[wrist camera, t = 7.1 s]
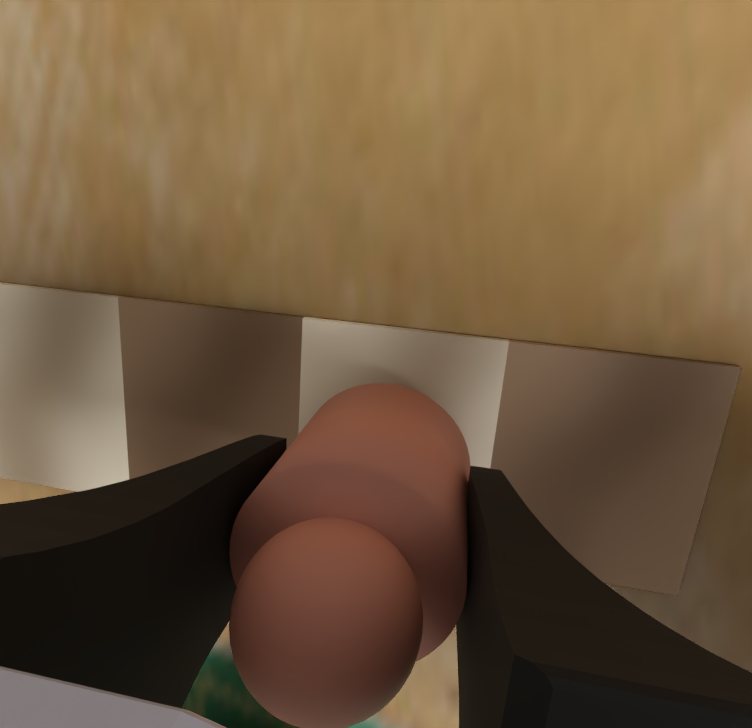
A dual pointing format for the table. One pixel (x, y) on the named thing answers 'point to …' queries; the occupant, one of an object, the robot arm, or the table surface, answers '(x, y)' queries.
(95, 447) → the track board
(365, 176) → the table surface
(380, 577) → the pawn
